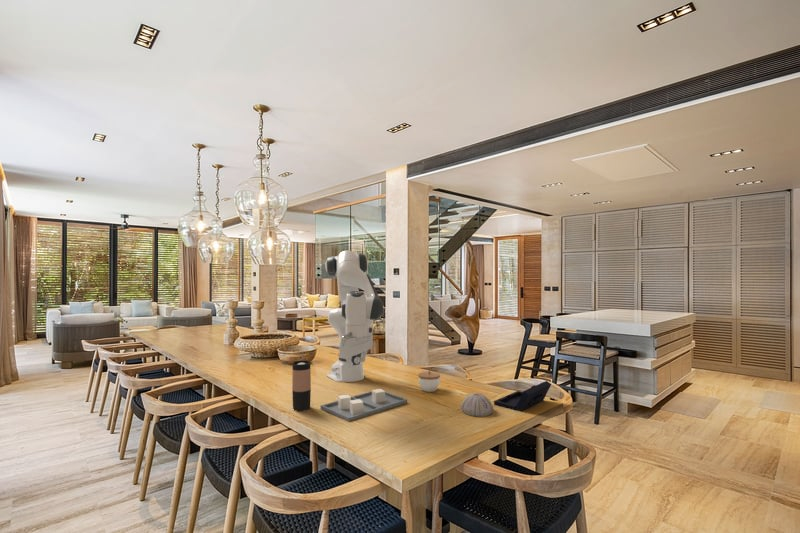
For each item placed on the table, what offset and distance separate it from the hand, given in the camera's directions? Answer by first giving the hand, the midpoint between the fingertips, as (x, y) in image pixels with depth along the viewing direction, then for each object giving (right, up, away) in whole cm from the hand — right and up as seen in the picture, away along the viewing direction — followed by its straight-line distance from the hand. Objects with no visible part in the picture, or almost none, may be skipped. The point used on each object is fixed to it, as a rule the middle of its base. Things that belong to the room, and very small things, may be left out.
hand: (356, 364), depth 164 cm
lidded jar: (+32, -21, +32) cm, 50 cm away
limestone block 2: (0, -20, 0) cm, 20 cm away
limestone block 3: (+8, -20, +14) cm, 25 cm away
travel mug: (-24, -21, +6) cm, 33 cm away
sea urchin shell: (+50, -21, +1) cm, 54 cm away
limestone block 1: (-6, -20, +6) cm, 21 cm away
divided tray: (+3, -21, +8) cm, 23 cm away
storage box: (+72, -21, +10) cm, 76 cm away
